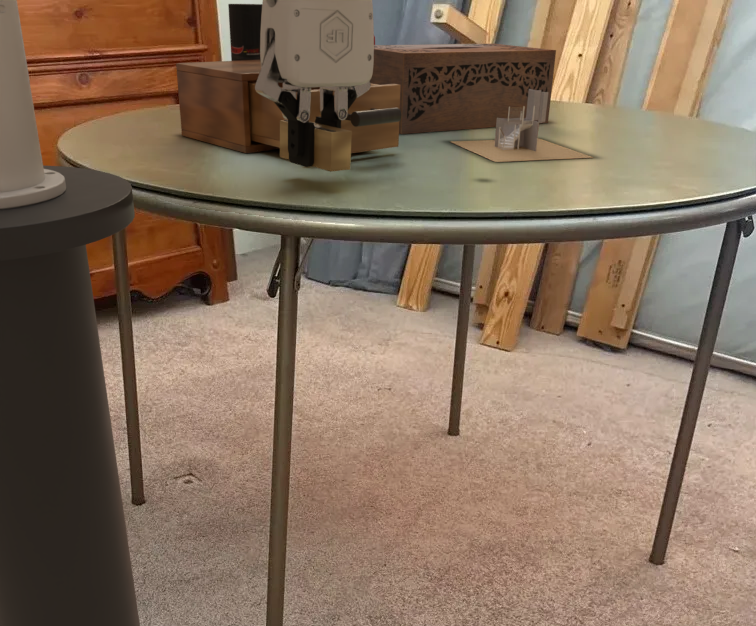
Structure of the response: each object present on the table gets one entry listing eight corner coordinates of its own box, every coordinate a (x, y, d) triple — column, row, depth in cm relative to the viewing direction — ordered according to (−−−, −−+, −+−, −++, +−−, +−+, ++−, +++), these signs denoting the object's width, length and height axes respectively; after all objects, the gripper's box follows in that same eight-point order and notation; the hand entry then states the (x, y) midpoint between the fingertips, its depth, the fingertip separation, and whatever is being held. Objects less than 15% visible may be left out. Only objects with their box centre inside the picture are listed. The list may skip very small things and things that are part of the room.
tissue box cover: (487, 110, 129) (493, 43, 124) (548, 122, 118) (556, 50, 113) (348, 118, 117) (349, 45, 112) (401, 133, 105) (404, 53, 101)
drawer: (424, 152, 89) (427, 88, 86) (331, 166, 81) (331, 96, 78) (326, 130, 101) (325, 74, 98) (236, 141, 93) (232, 79, 90)
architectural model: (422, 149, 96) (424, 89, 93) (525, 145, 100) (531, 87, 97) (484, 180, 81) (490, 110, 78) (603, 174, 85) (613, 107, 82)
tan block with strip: (330, 171, 73) (331, 131, 71) (279, 157, 78) (279, 119, 77) (350, 169, 74) (351, 130, 73) (299, 155, 80) (299, 118, 78)
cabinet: (343, 140, 100) (344, 68, 96) (245, 153, 91) (241, 73, 87) (276, 125, 110) (274, 58, 106) (181, 135, 101) (175, 63, 97)
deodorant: (273, 114, 119) (269, 4, 112) (277, 120, 114) (273, 5, 107) (233, 114, 118) (227, 3, 111) (235, 120, 112) (229, 4, 106)
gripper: (265, -63, 61) (267, 178, 69) (414, -47, 71) (401, 162, 79) (213, -62, 66) (220, 163, 74) (360, -47, 76) (352, 150, 84)
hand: (314, 161), depth 76 cm, fingers closed on tan block with strip, 2 cm apart
